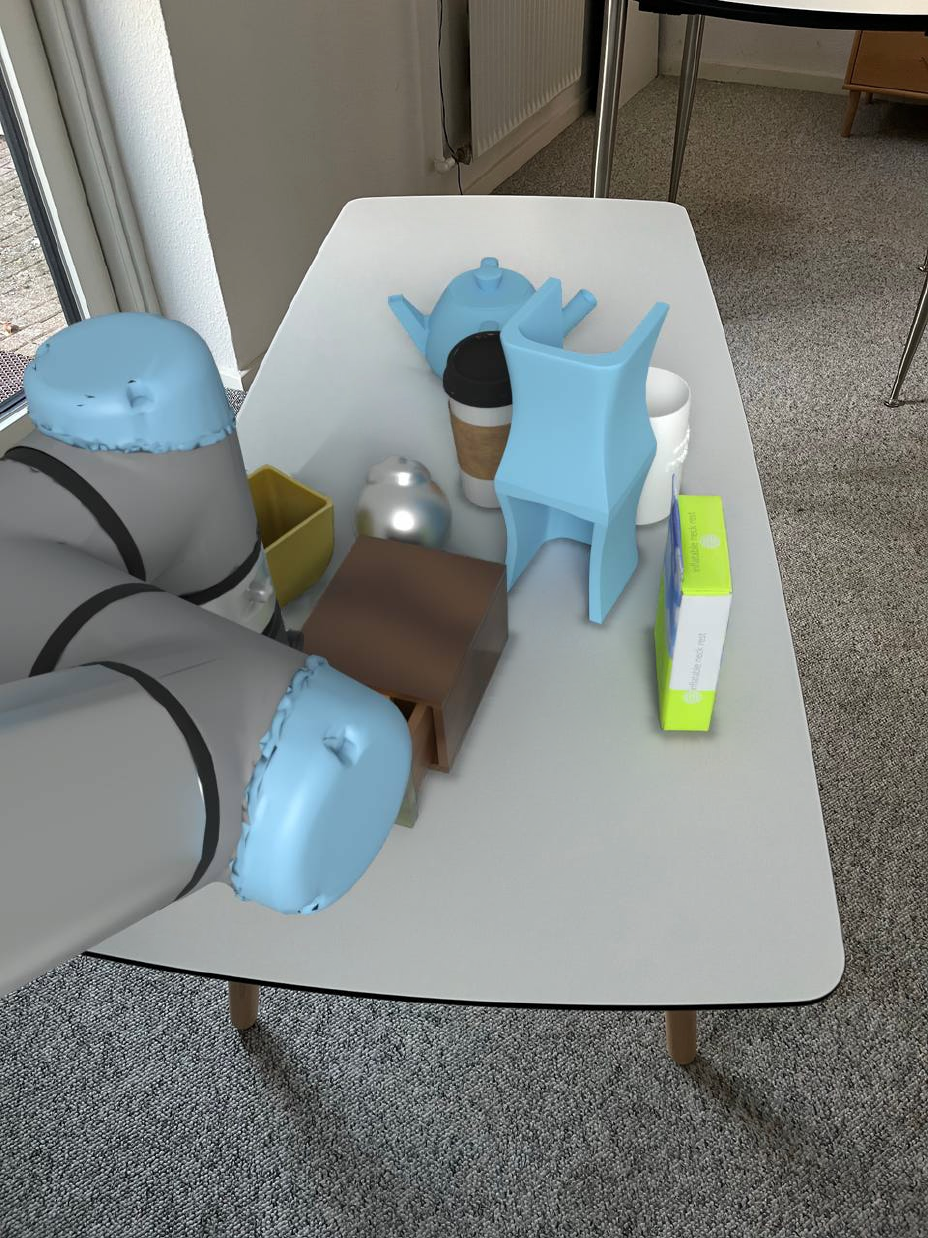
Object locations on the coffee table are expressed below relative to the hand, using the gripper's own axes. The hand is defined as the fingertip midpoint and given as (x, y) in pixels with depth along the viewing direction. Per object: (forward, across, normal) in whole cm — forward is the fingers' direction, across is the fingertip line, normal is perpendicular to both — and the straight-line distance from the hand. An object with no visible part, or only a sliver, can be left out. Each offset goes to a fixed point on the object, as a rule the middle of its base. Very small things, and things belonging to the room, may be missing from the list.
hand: (284, 864), depth 70 cm
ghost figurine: (+6, +35, +6) cm, 36 cm away
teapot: (+6, +66, +8) cm, 67 cm away
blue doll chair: (+6, +37, -9) cm, 39 cm away
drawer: (+4, +11, 0) cm, 12 cm away
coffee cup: (+6, +46, +1) cm, 46 cm away
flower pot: (+6, +28, +15) cm, 33 cm away
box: (+6, +28, -21) cm, 35 cm away
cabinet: (+5, +21, 0) cm, 21 cm away
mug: (+6, +51, -12) cm, 52 cm away
